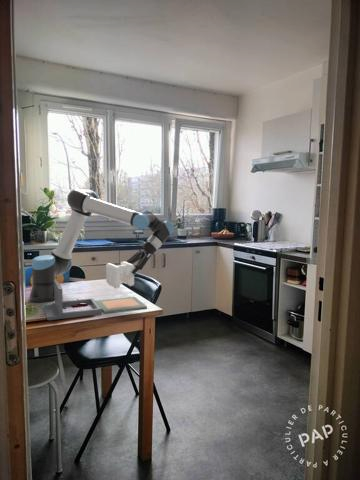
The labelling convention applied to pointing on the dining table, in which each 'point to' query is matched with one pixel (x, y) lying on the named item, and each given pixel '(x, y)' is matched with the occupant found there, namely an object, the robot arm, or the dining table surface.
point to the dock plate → (120, 304)
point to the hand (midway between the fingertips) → (124, 275)
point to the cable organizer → (119, 274)
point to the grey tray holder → (56, 309)
